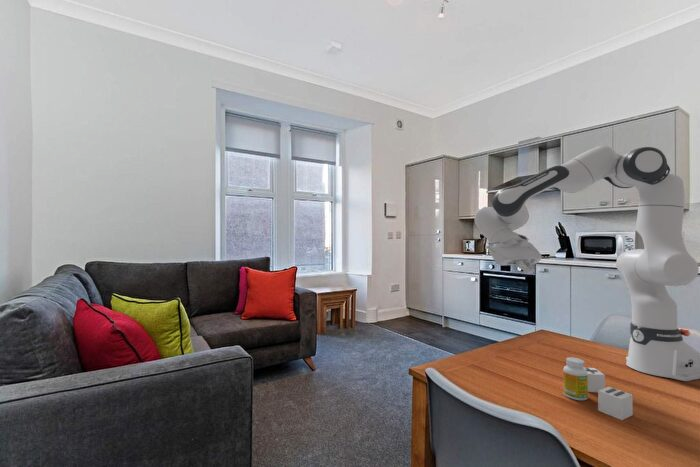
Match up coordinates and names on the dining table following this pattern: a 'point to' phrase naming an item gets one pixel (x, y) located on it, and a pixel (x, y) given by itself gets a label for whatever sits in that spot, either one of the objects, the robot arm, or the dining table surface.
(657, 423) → the dining table surface
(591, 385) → the marked block back
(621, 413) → the marked block front
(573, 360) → the supplement bottle
